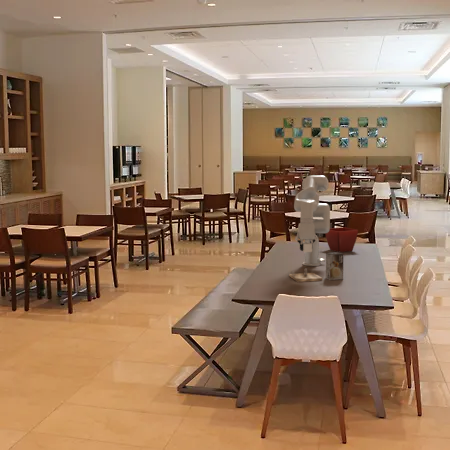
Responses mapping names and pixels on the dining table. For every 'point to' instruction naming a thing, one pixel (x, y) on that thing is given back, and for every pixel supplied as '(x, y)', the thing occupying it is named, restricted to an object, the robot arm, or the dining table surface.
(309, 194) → the robot arm
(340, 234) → the plant pot
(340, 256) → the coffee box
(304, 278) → the pin plate
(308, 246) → the jaw block
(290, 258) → the dining table surface
